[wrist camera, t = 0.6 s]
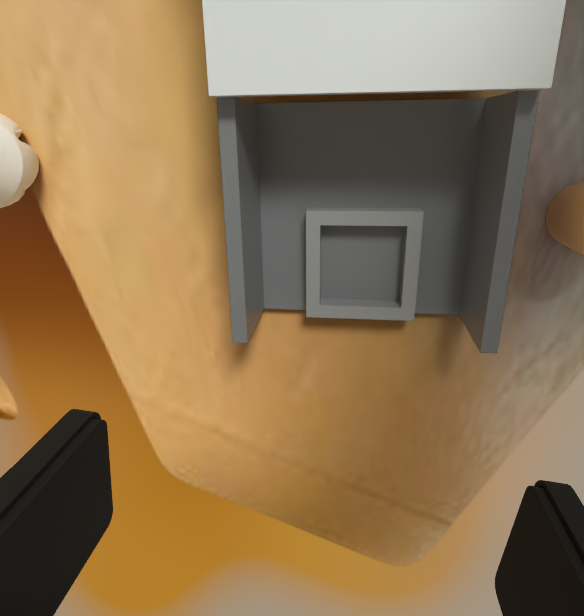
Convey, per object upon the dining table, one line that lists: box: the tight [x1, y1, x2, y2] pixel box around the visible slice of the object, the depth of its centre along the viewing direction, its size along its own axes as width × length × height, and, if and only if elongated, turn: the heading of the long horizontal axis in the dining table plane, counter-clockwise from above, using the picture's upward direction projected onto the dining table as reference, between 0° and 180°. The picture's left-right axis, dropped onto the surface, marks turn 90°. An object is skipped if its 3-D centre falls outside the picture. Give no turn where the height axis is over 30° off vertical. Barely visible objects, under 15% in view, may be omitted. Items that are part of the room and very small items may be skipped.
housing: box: [217, 90, 540, 353], centre depth 31 cm, size 15×17×7 cm
